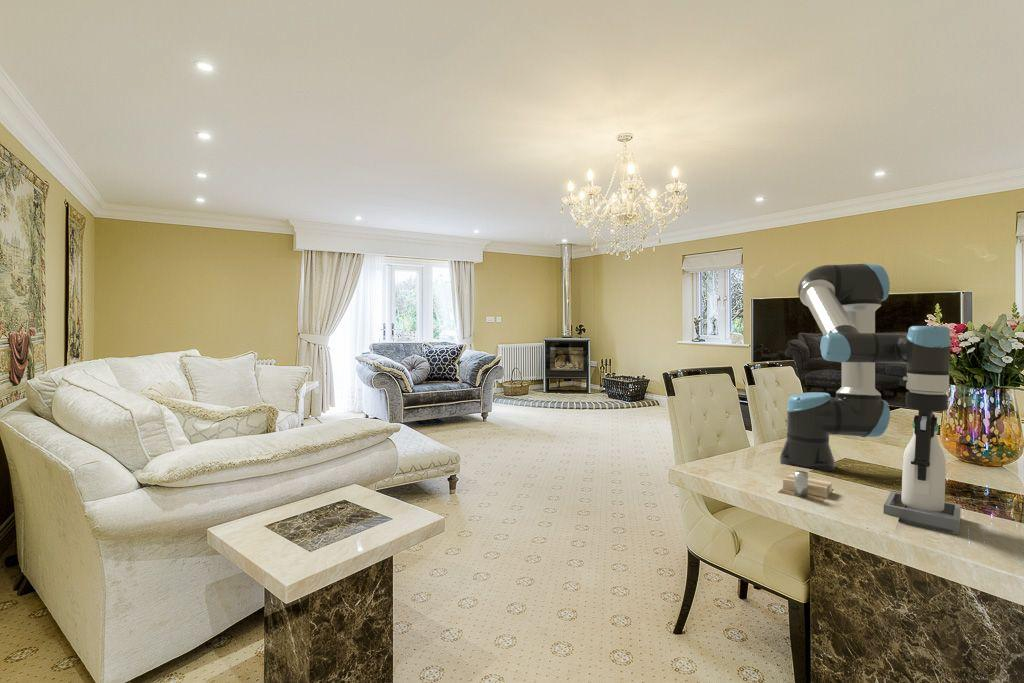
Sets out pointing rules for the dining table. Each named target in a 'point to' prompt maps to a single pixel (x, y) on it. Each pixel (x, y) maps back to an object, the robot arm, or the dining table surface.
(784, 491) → the board
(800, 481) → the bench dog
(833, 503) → the dining table surface
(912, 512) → the tray
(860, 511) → the dining table surface
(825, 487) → the light wooden block
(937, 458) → the milk bottle
